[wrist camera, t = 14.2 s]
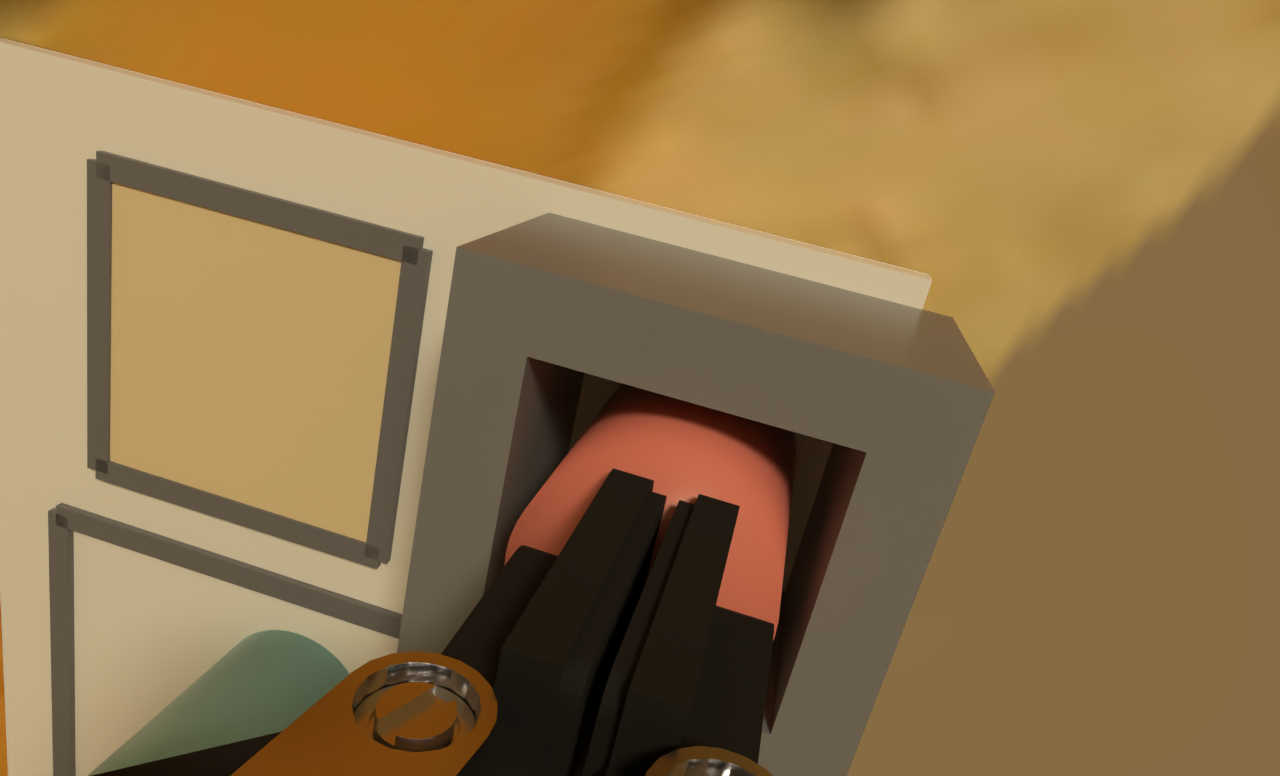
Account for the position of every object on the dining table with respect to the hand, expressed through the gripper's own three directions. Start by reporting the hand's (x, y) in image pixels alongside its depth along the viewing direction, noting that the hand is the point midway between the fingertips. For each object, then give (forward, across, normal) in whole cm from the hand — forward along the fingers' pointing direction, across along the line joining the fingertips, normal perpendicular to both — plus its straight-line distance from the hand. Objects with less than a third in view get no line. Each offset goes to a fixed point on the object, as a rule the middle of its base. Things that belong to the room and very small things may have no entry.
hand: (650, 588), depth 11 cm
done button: (+5, 0, 0) cm, 5 cm away
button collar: (+5, 0, 0) cm, 5 cm away
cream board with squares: (+6, +6, +6) cm, 10 cm away
